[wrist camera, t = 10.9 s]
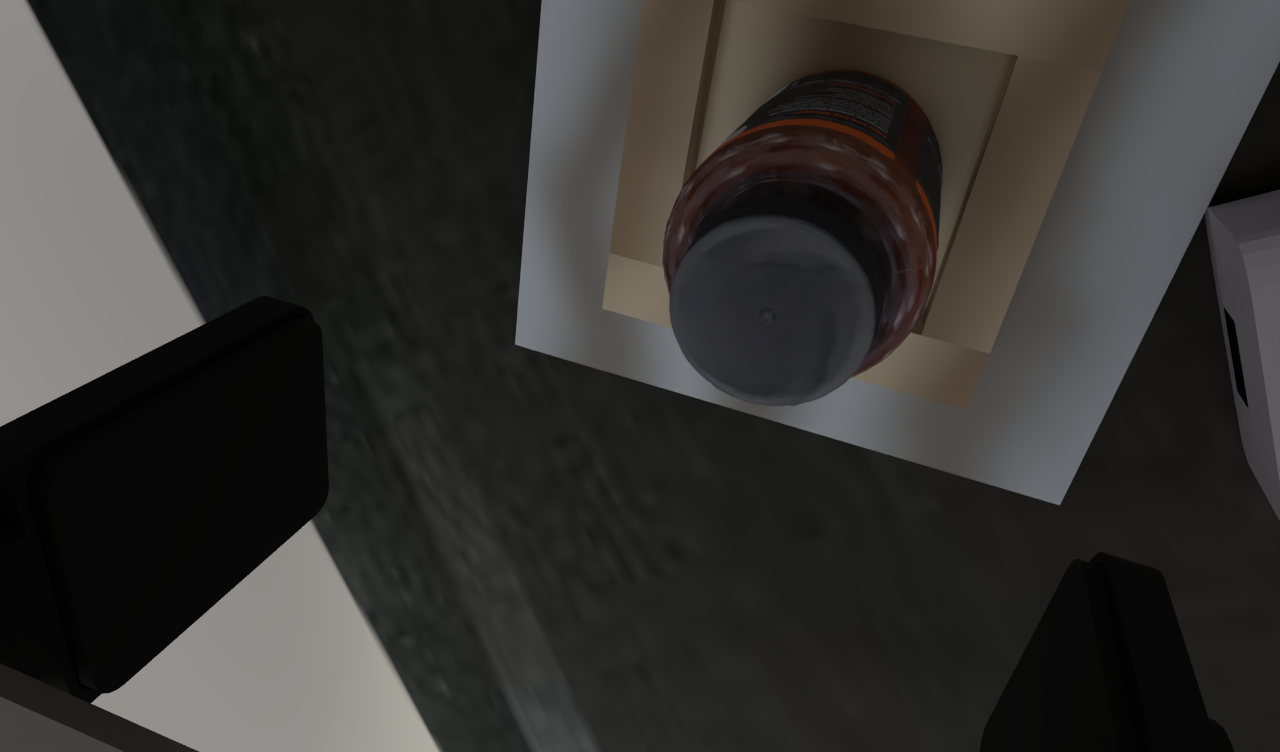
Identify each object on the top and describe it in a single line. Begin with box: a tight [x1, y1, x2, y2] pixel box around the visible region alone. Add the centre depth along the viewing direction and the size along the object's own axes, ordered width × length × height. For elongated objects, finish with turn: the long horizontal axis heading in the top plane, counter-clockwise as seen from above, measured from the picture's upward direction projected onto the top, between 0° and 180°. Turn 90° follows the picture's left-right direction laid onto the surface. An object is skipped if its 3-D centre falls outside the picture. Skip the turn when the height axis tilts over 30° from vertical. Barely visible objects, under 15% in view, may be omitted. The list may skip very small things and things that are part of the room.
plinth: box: [515, 0, 1280, 505], centre depth 26 cm, size 22×22×5 cm
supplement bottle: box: [662, 70, 942, 406], centre depth 21 cm, size 6×6×11 cm
